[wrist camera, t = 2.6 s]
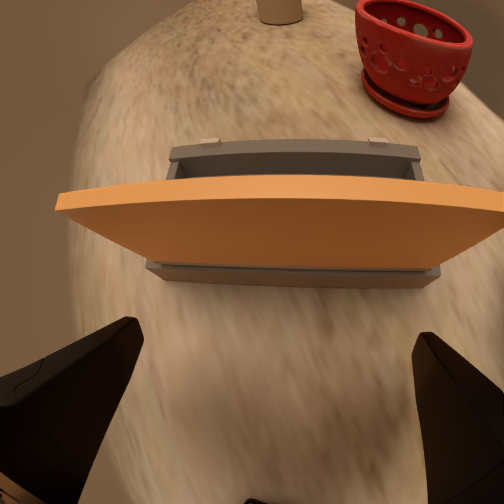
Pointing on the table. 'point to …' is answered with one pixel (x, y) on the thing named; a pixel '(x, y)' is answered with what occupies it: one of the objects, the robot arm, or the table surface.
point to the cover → (291, 221)
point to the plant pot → (410, 56)
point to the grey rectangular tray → (295, 163)
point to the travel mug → (279, 11)
